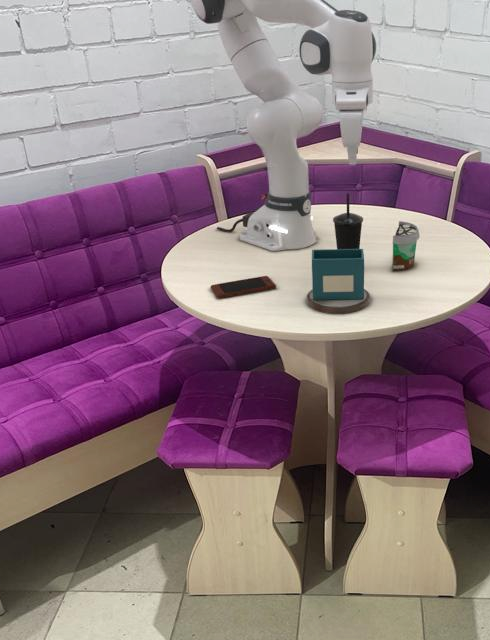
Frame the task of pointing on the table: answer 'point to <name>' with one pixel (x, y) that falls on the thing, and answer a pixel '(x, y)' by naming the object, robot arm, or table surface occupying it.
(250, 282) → the smartphone
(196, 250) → the table surface
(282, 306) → the table surface
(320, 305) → the disc
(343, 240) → the drinking cup
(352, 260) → the bin
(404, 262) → the food container
